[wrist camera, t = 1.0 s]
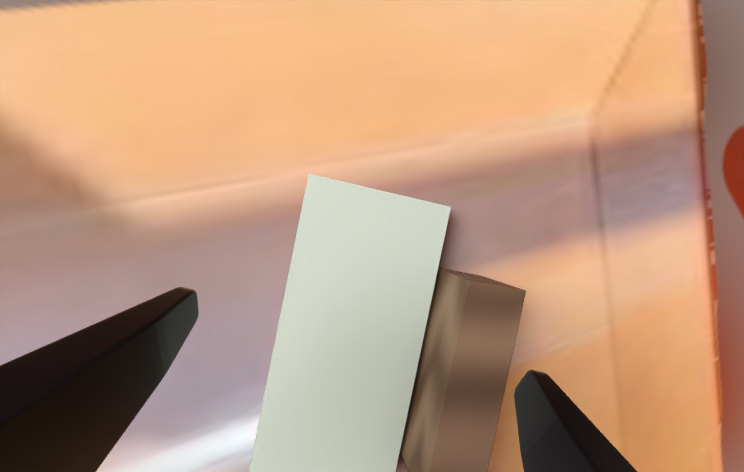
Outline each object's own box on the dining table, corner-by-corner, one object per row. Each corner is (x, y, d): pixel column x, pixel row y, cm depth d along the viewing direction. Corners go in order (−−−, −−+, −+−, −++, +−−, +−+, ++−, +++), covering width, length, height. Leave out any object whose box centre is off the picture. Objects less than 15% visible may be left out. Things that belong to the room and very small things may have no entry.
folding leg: (440, 468, 25) (476, 535, 20) (393, 467, 24) (418, 536, 19) (481, 275, 25) (529, 291, 20) (434, 267, 24) (472, 281, 19)
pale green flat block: (386, 462, 24) (393, 481, 23) (251, 457, 22) (247, 478, 20) (439, 207, 24) (450, 207, 22) (308, 177, 22) (308, 173, 20)
